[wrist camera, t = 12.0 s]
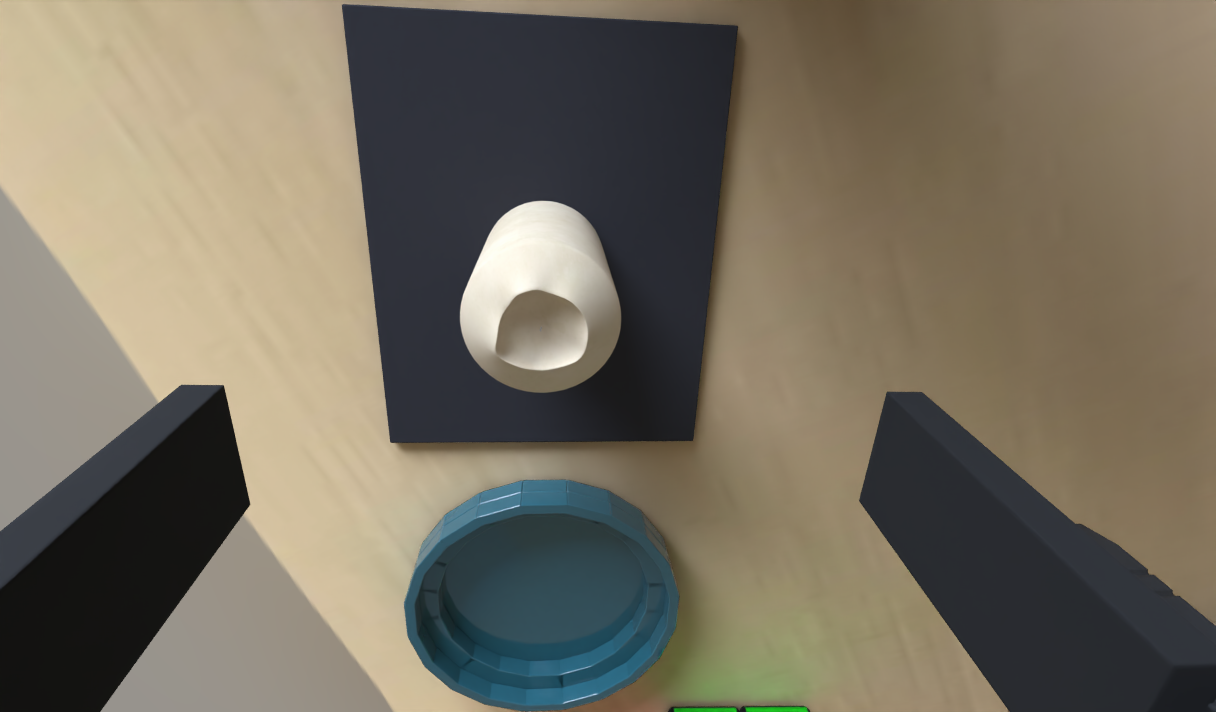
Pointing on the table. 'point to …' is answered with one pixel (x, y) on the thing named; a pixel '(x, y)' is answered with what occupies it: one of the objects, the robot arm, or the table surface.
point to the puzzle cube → (742, 709)
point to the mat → (538, 171)
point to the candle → (541, 300)
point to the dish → (541, 596)
